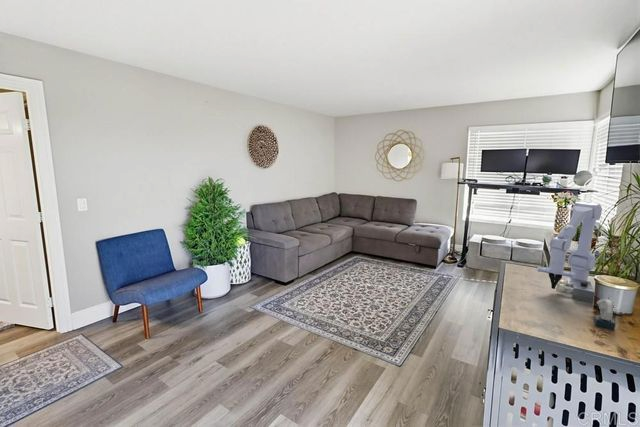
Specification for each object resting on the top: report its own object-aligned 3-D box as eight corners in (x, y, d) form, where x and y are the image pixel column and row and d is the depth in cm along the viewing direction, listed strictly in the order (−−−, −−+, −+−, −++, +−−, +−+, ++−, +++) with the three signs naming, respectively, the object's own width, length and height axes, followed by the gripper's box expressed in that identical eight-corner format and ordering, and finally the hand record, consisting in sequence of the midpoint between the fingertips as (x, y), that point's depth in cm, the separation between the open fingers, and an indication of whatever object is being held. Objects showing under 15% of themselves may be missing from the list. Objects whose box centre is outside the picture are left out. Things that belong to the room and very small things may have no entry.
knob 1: (587, 295, 149) (588, 288, 148) (588, 298, 146) (589, 291, 146) (556, 289, 156) (557, 282, 155) (556, 291, 153) (557, 284, 152)
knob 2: (588, 291, 154) (589, 284, 154) (589, 293, 151) (590, 286, 151) (557, 285, 161) (558, 278, 160) (558, 287, 158) (559, 280, 157)
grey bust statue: (610, 323, 126) (615, 298, 124) (615, 333, 119) (620, 306, 117) (592, 319, 129) (597, 294, 127) (595, 328, 122) (601, 302, 120)
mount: (569, 288, 160) (571, 275, 159) (588, 292, 156) (590, 278, 155) (572, 298, 148) (574, 284, 147) (592, 303, 144) (595, 288, 143)
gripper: (539, 261, 153) (535, 287, 156) (577, 267, 145) (572, 294, 148) (539, 257, 159) (535, 282, 161) (575, 263, 151) (571, 289, 153)
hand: (553, 288), depth 155 cm, fingers closed
